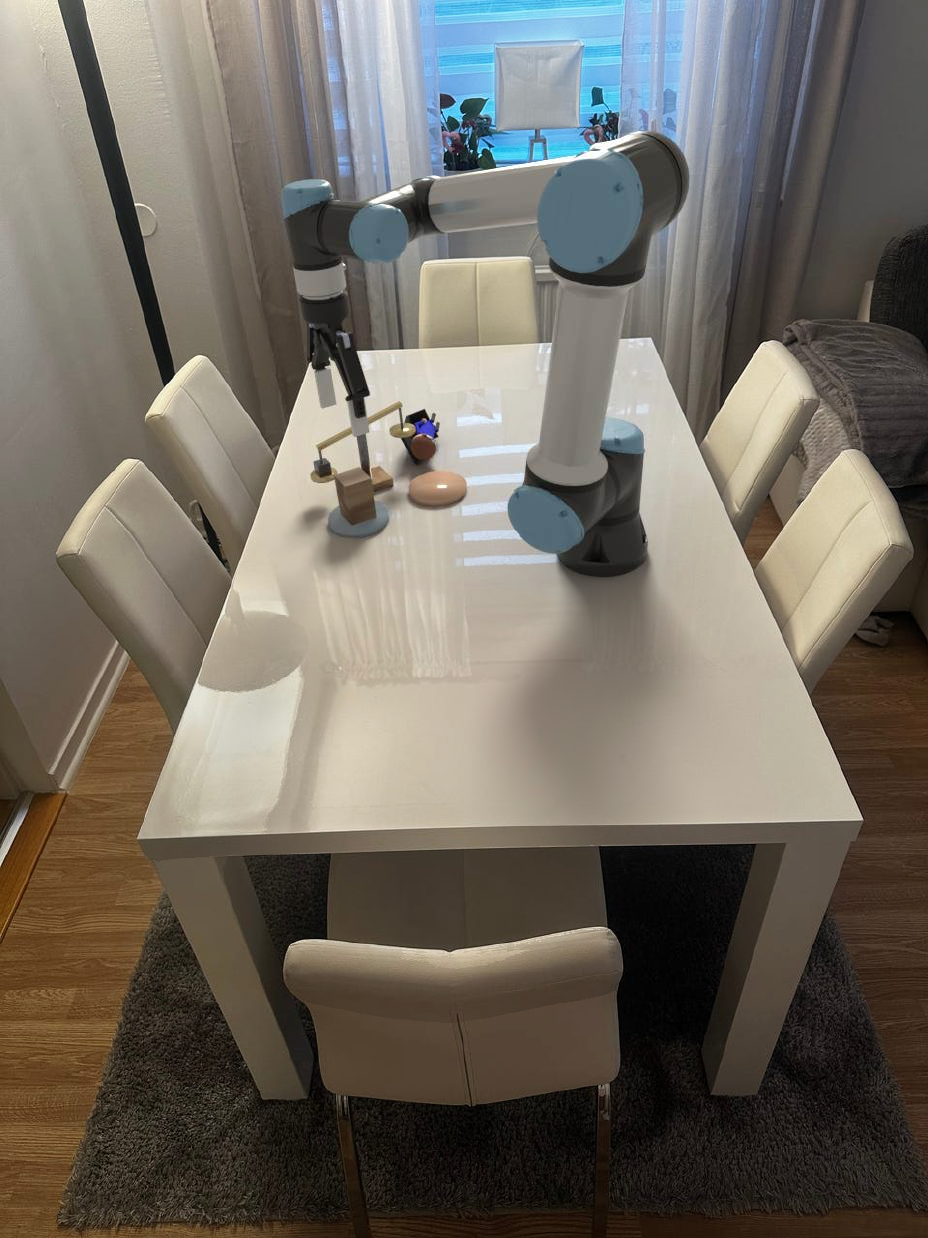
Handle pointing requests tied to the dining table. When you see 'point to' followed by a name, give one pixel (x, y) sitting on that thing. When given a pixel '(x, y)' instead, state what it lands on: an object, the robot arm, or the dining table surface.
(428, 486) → the peach glossy dome
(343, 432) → the balance
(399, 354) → the dining table surface
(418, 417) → the character figurine
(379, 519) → the blue gray round dish
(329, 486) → the dining table surface
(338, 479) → the block
